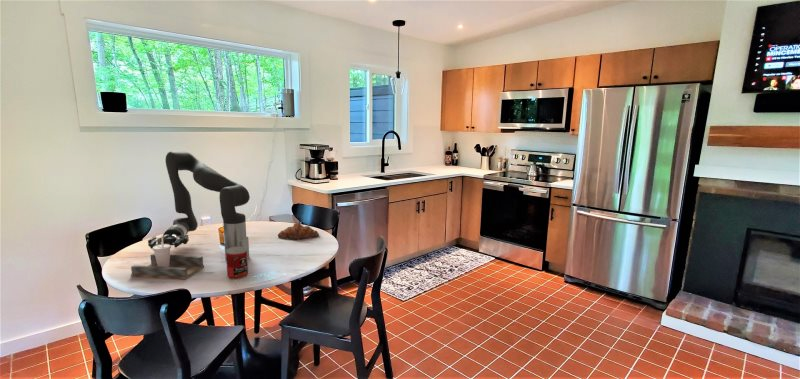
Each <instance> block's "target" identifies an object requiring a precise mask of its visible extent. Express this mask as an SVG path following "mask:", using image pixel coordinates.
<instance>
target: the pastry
mask: <svg viewBox="0 0 800 379" xmlns="http://www.w3.org/2000/svg"><path fill="white" fill-rule="evenodd" d="M316 236H317V237H318V236H320V234H319V232H318V231H317V230H316V229H315V230H314V229H313V228H312V227H310V226H309V225H305V226H303V225H302V224H301V223H300V222H295V223H294V224H293V226H288V227H286V228H285V229H283V230H281V231H280V232H278V234H277V237H278V238H279V239H284V240H285V239H286V240H287V238H288V239H290V240H296V241H297V239H299V240H306V239H310V238H309V237H313V238H316ZM305 238H306V239H305Z"/></svg>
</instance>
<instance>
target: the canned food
mask: <svg viewBox="0 0 800 379" xmlns="http://www.w3.org/2000/svg"><path fill="white" fill-rule="evenodd" d="M226 260H227V261H226ZM226 260H225V261H226V275H227V277H228V278H229V279H231V280H238V279H239V280H240V279H242V278H243V279H244V278H245V277H247V276H248V274H249V270H248V269H249V268H248V258H247V248H245V247H240V246H238V247H231V248H229V249H227V250H226Z"/></svg>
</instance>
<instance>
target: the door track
mask: <svg viewBox="0 0 800 379" xmlns="http://www.w3.org/2000/svg"><path fill="white" fill-rule="evenodd" d="M203 258H204V257H203V256H200V255H199V256H197V255H184V254H183V255H182V254H170V262H169V267H158V266H157V262H156V258H155V254H154V253H151V254H150V264H148V265H138V264H135V265H131V267H130V268H131V274H130V277H132V278H147V279H148V278H150V279H163V280H164V279H165V280H181V281H182V280H186V279H188V278H189V277H191V276H192V275H194V274H196V273H197V272H199V271H201V270H202V269H203V268H204V267H205V265H204V261H203V260H204V259H203Z"/></svg>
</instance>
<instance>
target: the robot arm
mask: <svg viewBox="0 0 800 379" xmlns="http://www.w3.org/2000/svg"><path fill="white" fill-rule="evenodd" d="M165 167H166V169H167V174H168V178H169V181H170V185H171V189H172V192H173V198H174V199H173V200H174V208H175V212H176V213H178V214H182V215H183V214H184V215H185V216H186V217H177V218H175V219H174V220H173V222H172V225H171V226H170V227H169V228H168V229H166V230H165V231H164V233H163V235H162V236H163V243H164V244H169V245H171V246H173V247H174V248H177V247H179V246H181V245H182V244H183V245H187V244H188V242H189V241H190V240H189V239H190V238H189V234H188V233H190V232H194V231H196V230H197V228H198V226H199V225H198V219H197V217H196V215H195V214H194V211H193V208H192V197H191V194H190V191H189V190H188V188H187V187H186V186H185V185H184V183H183V182H182V180H181V178H180V175H179V171H189V172H191V173H192V179H193V180H194V182H195V183H196V184H198V185H199V186H200V187H202V188H203V189H206V190H208V191H212V192H217V193H219V197H218V198H219V205H220V214H221V218H222V222H223V223H222V226H223V242H224V257H225V259H224V260H225V261H226V262H227V260H226V250H227V249H229V248H231V247H238V246H240V247H245V248H247V259H248V258H249V257H250V244H249V243H250V242H249V236H247V224H246V222H247V221H246V220H247V218H246V215H245V214H244V213H241V212H237V210H236V208H237V207H241V206H244V205H246V204H248V203H249V200H250V193H249V190H248V189H247V188H246V187H245V186H243V185H241V184H239V183H237V182H235V181H232V180H231V179H229V178H227V177H226V176H224V175H222V174H221V173H219V171H218V172H217V170H215V169H214V168H211V167H209V166H208V165H206V164H205V163H203V162H201V161H200V160H199V159H198V158H197V157H195V155H193V154H192V153H190V152H188V151H169V152H167V154H166V156H165ZM147 244H148V247H149V248H150V250H153V247H154V246H157V245H161V244H162V239H161V236H158V237H157V236H155V235H154V236H151V238H149V239H148V240H147Z"/></svg>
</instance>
